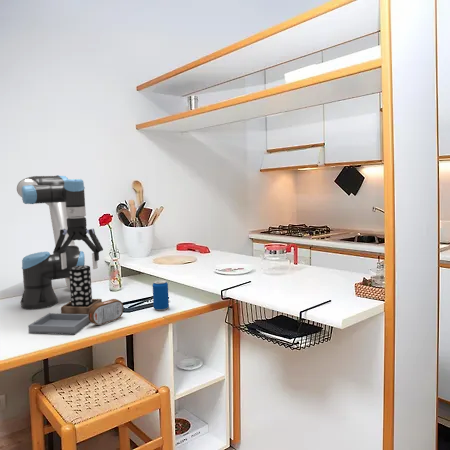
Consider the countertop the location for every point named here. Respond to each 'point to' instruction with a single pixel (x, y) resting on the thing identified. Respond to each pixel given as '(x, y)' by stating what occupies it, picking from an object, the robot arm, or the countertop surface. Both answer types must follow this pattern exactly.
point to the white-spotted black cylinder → (80, 286)
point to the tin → (106, 311)
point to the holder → (78, 308)
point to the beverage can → (160, 295)
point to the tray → (59, 324)
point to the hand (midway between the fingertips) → (79, 268)
